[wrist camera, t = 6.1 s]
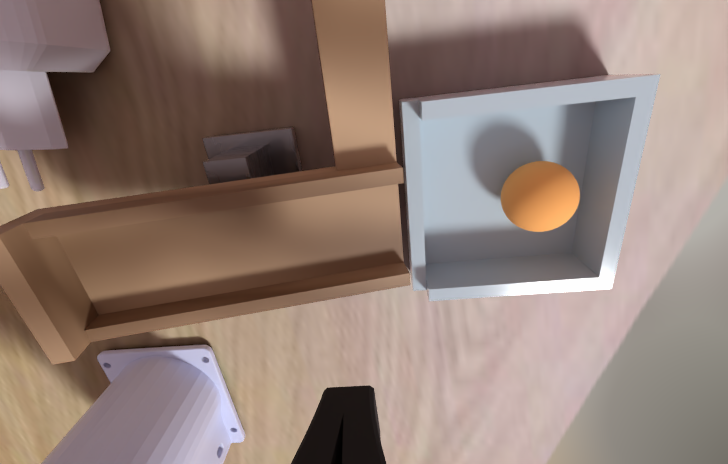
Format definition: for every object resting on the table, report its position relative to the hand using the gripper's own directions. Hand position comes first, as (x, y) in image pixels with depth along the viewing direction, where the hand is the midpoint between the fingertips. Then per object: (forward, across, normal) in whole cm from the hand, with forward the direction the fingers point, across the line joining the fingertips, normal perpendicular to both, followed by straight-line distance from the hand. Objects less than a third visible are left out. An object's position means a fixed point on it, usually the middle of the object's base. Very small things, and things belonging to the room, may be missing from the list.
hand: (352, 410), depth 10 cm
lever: (+6, +5, -7) cm, 11 cm away
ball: (+8, -8, -3) cm, 12 cm away
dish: (+10, -7, -3) cm, 13 cm away
